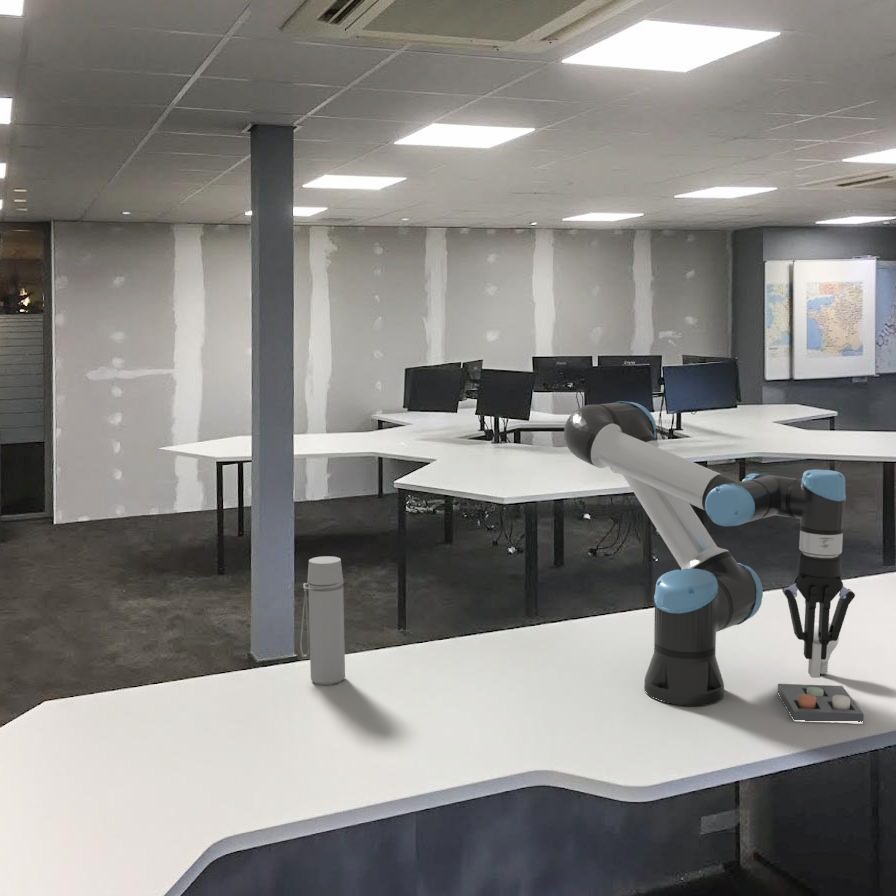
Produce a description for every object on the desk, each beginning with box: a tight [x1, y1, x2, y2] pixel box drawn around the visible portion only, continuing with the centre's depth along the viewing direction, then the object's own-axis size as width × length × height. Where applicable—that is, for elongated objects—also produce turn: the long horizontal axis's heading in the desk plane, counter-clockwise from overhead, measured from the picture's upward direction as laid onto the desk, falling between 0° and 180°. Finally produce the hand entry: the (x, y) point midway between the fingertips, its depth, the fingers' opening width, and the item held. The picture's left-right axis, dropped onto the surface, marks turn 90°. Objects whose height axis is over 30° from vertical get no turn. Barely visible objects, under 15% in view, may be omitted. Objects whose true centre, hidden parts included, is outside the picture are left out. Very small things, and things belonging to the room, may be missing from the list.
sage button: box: [807, 687, 824, 696], centre depth 188 cm, size 3×3×2 cm
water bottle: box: [299, 555, 346, 686], centre depth 201 cm, size 9×8×25 cm
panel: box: [777, 683, 865, 722], centre depth 185 cm, size 12×14×2 cm
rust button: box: [798, 694, 816, 709], centre depth 182 cm, size 3×3×2 cm
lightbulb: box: [814, 621, 840, 675], centre depth 203 cm, size 6×6×11 cm
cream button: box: [832, 695, 850, 710], centre depth 181 cm, size 3×3×2 cm
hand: (813, 675), depth 188 cm, fingers closed
